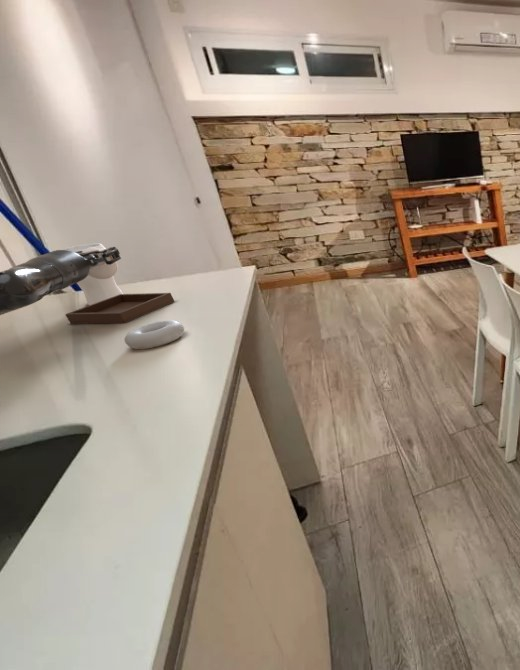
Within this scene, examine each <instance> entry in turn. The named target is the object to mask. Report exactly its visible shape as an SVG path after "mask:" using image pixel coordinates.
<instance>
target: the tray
mask: <svg viewBox="0 0 520 670" xmlns="http://www.w3.org/2000/svg"><path fill="white" fill-rule="evenodd" d="M175 301H176V300H175V299H174V297H173V295H172V293H171V292H149V293H146V292H145V293H144V292H143V293H123V294H119V295H116V296H114V297H111V298H108V299H105V300H103V301H100V302H97V303H95V304H92V305H87V306H84V307H81V308H79V309H76V310H73V311H71V312H68V313H65V314H64V315H65V317H66V319H67V320H68V322H69V323H70V324H72V325H80V324H81V325H83V324H84V325H85V324H87V325H88V324H126V323H128V322H131V321H133V320H135V319H138V318H141V317H142V316H145V315H147V314H149V313H152V312H154V311H157V310H159V309H161V308H163V307H166V306H168V305H171V304H173V303H176V302H175Z"/></svg>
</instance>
